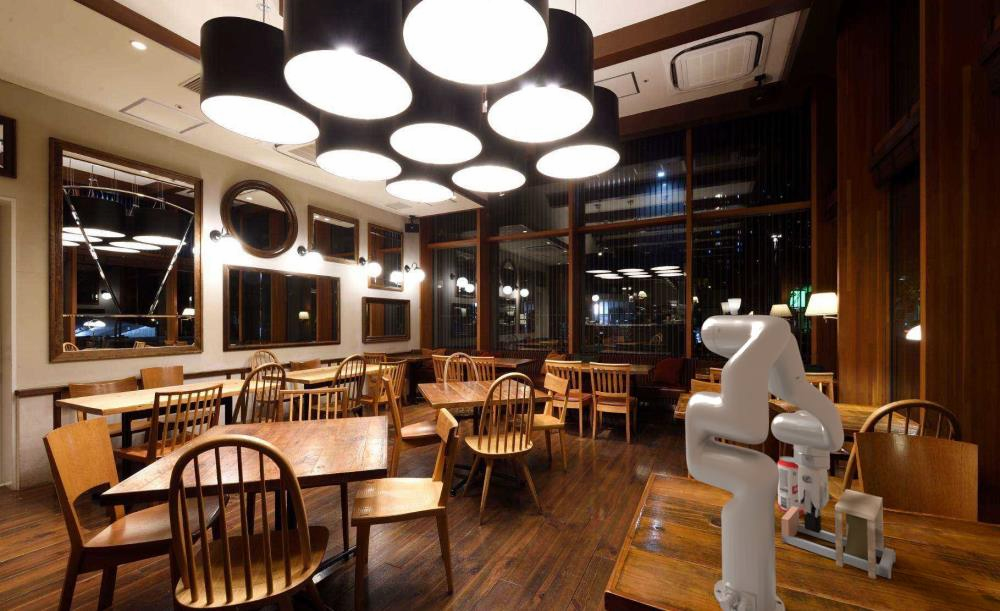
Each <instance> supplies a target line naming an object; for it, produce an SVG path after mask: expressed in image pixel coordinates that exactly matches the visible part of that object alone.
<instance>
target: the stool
mask: <svg viewBox="0 0 1000 611" xmlns="http://www.w3.org/2000/svg"><path fill="white" fill-rule="evenodd" d="M883 509H884V508H883V497H882V496H881V497H880V496H877V495H873V494H869V493H865V492H860V491H855V490H852V489H848V488H846V489H845V490H844V492H843V493H842V494H841V495H840V497H839V499H838V500H837V502H836V504H835V505H834V525H835V526H834V527H835V528H834V529H835V533H834V534H835V538H836V543H835V550H836V560H835V566H838V567H840V568H844V563H843V553H844V546H843V537H844V532H843V531H844V528H843V525H844V524H843V513H844V514H845V515H846V514H851V515H854V516H858V517H861V518H865V519H867V535H868V571H867V572H868V574H867V575H868V578H871V579H874V580H876V579H877V574H876V562H877V558H876V547H878V548H881V549H885V547H884V518H883V517H884V516H883V515H884V514H883V513H884V512H883ZM848 527H849V525H848V524H847V522H846V521H845V532H846V533H845V538H847V534H848Z"/></svg>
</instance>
